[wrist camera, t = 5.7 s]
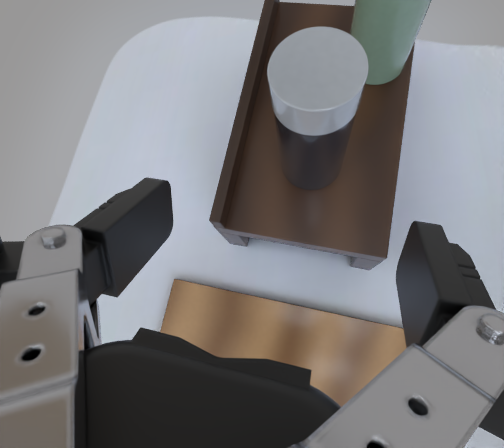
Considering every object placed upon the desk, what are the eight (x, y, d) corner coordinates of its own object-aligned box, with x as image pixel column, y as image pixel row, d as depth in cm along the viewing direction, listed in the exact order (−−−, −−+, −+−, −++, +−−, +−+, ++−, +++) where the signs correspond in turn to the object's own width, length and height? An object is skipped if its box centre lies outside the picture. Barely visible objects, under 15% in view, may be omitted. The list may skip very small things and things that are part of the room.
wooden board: (416, 331, 27) (418, 331, 27) (390, 575, 23) (392, 580, 23) (175, 279, 31) (174, 278, 30) (121, 483, 27) (119, 485, 27)
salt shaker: (409, 38, 27) (468, -118, 17) (402, 89, 26) (461, -47, 16) (349, 33, 28) (374, -117, 18) (340, 82, 27) (362, -50, 17)
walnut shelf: (398, 62, 33) (426, -9, 26) (369, 270, 29) (393, 254, 21) (274, 52, 35) (267, -17, 28) (229, 243, 31) (207, 220, 23)
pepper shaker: (347, 137, 25) (375, 29, 16) (337, 195, 24) (361, 117, 15) (286, 130, 26) (277, 22, 17) (274, 185, 25) (257, 105, 16)
